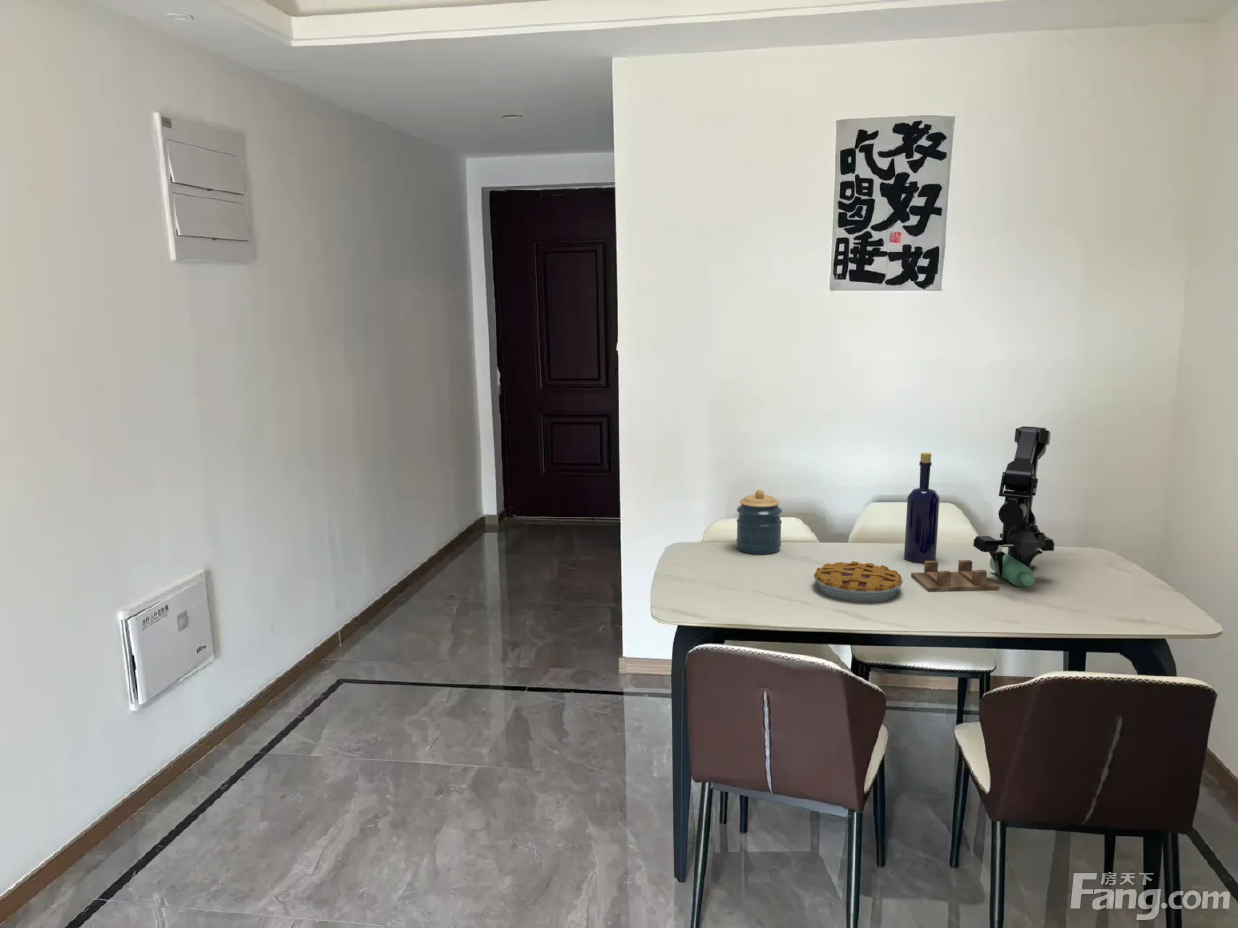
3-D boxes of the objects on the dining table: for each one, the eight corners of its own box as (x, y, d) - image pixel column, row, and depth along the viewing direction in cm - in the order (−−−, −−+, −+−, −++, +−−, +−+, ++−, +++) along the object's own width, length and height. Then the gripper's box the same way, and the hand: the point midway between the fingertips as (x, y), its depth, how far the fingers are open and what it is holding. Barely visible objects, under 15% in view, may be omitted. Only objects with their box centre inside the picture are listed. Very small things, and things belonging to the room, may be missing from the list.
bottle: (942, 563, 243) (948, 456, 238) (908, 563, 244) (914, 456, 238) (931, 554, 252) (937, 450, 247) (898, 554, 253) (904, 450, 247)
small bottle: (988, 572, 236) (990, 551, 235) (1009, 572, 236) (1011, 551, 235) (1017, 592, 220) (1019, 570, 219) (1039, 592, 220) (1041, 570, 219)
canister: (787, 546, 261) (789, 488, 258) (770, 557, 250) (772, 496, 247) (747, 540, 268) (748, 483, 265) (728, 551, 257) (729, 491, 254)
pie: (901, 579, 231) (902, 561, 230) (904, 608, 210) (905, 588, 209) (815, 573, 237) (815, 555, 236) (810, 600, 216) (810, 581, 215)
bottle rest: (928, 591, 221) (929, 574, 220) (911, 576, 233) (912, 559, 232) (999, 589, 222) (1000, 572, 221) (978, 574, 234) (979, 558, 233)
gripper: (993, 525, 218) (989, 586, 221) (1068, 524, 219) (1063, 584, 222) (974, 514, 229) (970, 572, 232) (1045, 513, 229) (1040, 571, 232)
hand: (1011, 575), depth 229 cm, fingers closed on small bottle, 6 cm apart
